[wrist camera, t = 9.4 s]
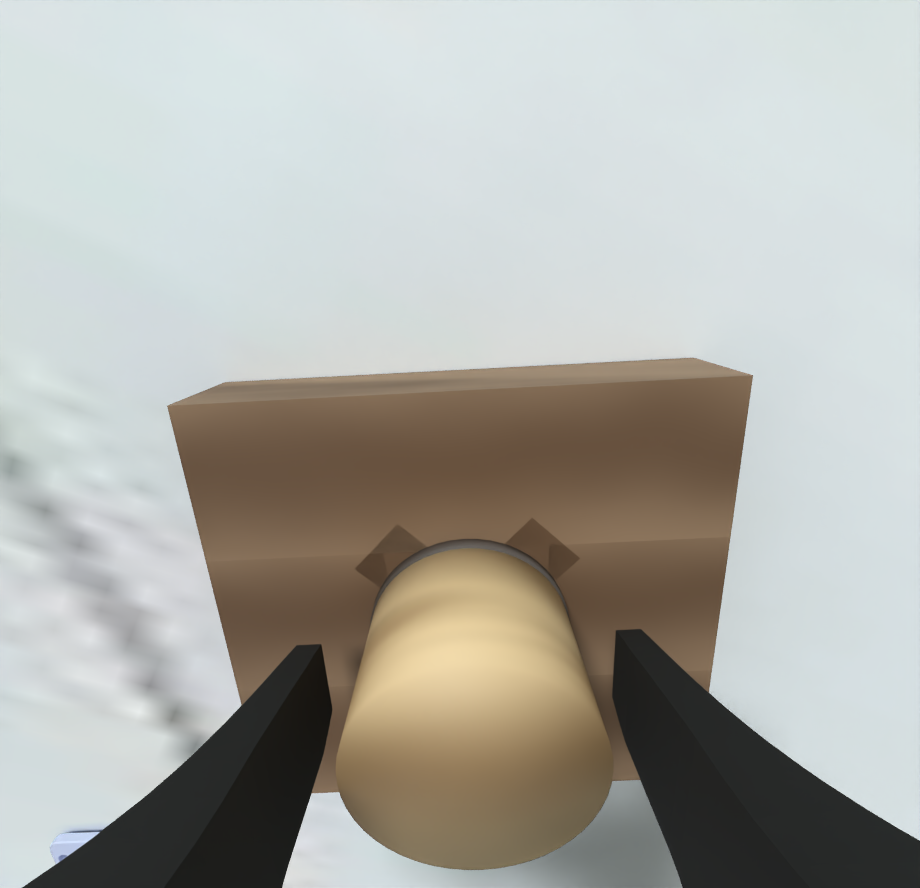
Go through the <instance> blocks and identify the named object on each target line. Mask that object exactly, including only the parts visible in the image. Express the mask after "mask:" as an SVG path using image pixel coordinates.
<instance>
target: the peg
mask: <svg viewBox="0 0 920 888" xmlns="http://www.w3.org/2000/svg"><path fill="white" fill-rule="evenodd" d="M613 770H614V769H613V754H612V750H611V745H610V741H609V738H608V735H607V732H606V729H605V726H604V723H603V720H602V717H601V714H600V711H599V708H598V705H597V702H596V699H595V696H594V693H593V690H592V687H591V684H590V681H589V678H588V675H587V672H586V669H585V666H584V663H583V660H582V657H581V654H580V651H579V648H578V645H577V642H576V639H575V636H574V633H573V630H572V627H571V624H570V619H569V614H568V610H567V606H566V603H565V600H564V598H563V595H562V593H561V590H560V588H559V586H558V585H557V583H556V581H555V580H554V578H553V577H552V576H551V574H550V573H549V572H548V571H547V569H545V568H544V567H543V566H542V565H541V564H540V563H539V562H538V561H537V560H535V559H534V558H532V557H531V556H529V555H528V554H526V553H524V552H522V551H521V550H519V549H517V548H514V547H512V546H509V545H506V544H503V543H499V542H495V541H491V540H483V539H458V540H450V541H446V542H441V543H437V544H435V545H432V546H429V547H426V548H424V549H422V550H420V551H418V552H416V553H414V554H413V555H411V556H410V557H408V558H407V559H405V560H404V561H402V562H401V563H400V564H399V565H398V566H397V567H396V568H395V569H394V570H393V571H392V572H391V573H390V574H389V576H388V577H387V578H386V580H385V581H384V583H383V584H382V586H381V588H380V590H379V592H378V594H377V597H376V599H375V603H374V607H373V611H372V615H371V619H370V630H369V634H368V637H367V641H366V645H365V649H364V653H363V657H362V660H361V664H360V668H359V672H358V676H357V680H356V683H355V687H354V691H353V695H352V699H351V703H350V706H349V710H348V714H347V718H346V722H345V726H344V730H343V733H342V737H341V741H340V745H339V749H338V753H337V757H336V779H337V785H338V789H339V792H340V796H341V798H342V800H343V802H344V804H345V807H346V809H347V810H348V812H349V813H350V814H351V816H352V817H353V819H354V820H355V821H356V822H357V824H358V825H359V826H360V827H361V828H362V829H363V830H364V831H365V832H366V833H367V834H369V835H370V836H371V837H372V838H373V839H374V840H376V841H377V842H379V843H380V844H382V845H383V846H385V847H386V848H388V849H390V850H392V851H394V852H396V853H398V854H400V855H402V856H404V857H407V858H410V859H412V860H415V861H418V862H421V863H425V864H429V865H432V866H438V867H444V868H450V869H462V870H484V869H495V868H502V867H508V866H513V865H517V864H521V863H524V862H528V861H531V860H534V859H536V858H539V857H541V856H544V855H546V854H548V853H550V852H552V851H554V850H556V849H558V848H560V847H561V846H563V845H564V844H566V843H568V842H569V841H571V840H572V839H573V838H575V837H576V836H577V835H578V834H579V833H581V832H582V831H583V830H584V829H585V828H586V827H587V826H588V825H589V824H590V823H591V822H592V821H593V819H594V818H595V817H596V815H597V814H598V812H599V811H600V810H601V808H602V806H603V804H604V802H605V800H606V798H607V796H608V793H609V790H610V787H611V784H612V777H613Z"/></svg>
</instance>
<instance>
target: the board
mask: <svg viewBox="0 0 920 888" xmlns="http://www.w3.org/2000/svg"><path fill="white" fill-rule="evenodd" d="M752 378H753V375H750V374H746V373H743V372H740V371H736V370H733V369H730V368H726V367H723V366H719V365H716V364H713V363H709V362H706V361H703V360H699V359H696V358H680V359H661V360H642V361H623V362H604V363H585V364H566V365H547V366H528V367H509V368H489V369H470V370H451V371H432V372H413V373H394V374H375V375H356V376H337V377H318V378H299V379H280V380H261V381H241V382H225V383H222V384H220V385H217V386H215V387H212V388H210V389H208V390H205V391H203V392H200V393H198V394H195V395H193V396H190V397H188V398H185V399H183V400H180V401H178V402H175V403H173V404H170V405H168V406H167V407H168V411H169V415H170V419H171V423H172V427H173V431H174V435H175V439H176V443H177V447H178V451H179V455H180V459H181V463H182V467H183V471H184V475H185V479H186V483H187V487H188V491H189V495H190V499H191V503H192V507H193V511H194V515H195V519H196V523H197V527H198V531H199V535H200V539H201V543H202V547H203V552H204V556H205V560H206V564H207V568H208V572H209V576H210V580H211V584H212V588H213V592H214V596H215V600H216V604H217V608H218V612H219V616H220V620H221V624H222V628H223V632H224V636H225V640H226V644H227V648H228V652H229V656H230V660H231V664H232V668H233V672H234V676H235V680H236V684H237V688H238V692H239V696H240V700H241V704H242V705H243V704H244V702H245V701H246V700H247V699H248V698H249V697H250V696H251V695H252V694H253V693H254V692H255V691H256V690H257V688H258V687H259V686H260V685H261V684H262V683H263V682H264V681H265V680H266V678H267V677H268V676H269V675H270V674H271V673H272V672H273V671H274V670H275V668H276V667H277V666H278V665H279V664H280V663H281V662H282V661H283V659H284V658H285V657H286V656H287V655H288V654H289V653H290V652H291V651H292V650H293V649H294V648H295V646H296V645H311V644H321V645H322V651H323V656H324V662H325V668H326V674H327V680H328V686H329V691H330V697H331V703H332V709H333V710H332V715H331V720H330V726H329V731H328V736H327V740H326V745H325V750H324V755H323V758H322V761H321V764H320V768H319V771H318V774H317V777H316V780H315V783H314V787H313V790H312V793H328V792H339V789H338V785H337V779H336V757H337V753H338V749H339V745H340V741H341V737H342V733H343V730H344V726H345V722H346V718H347V714H348V710H349V706H350V703H351V699H352V695H353V691H354V687H355V683H356V680H357V676H358V672H359V668H360V664H361V660H362V657H363V653H364V649H365V645H366V641H367V637H368V634H369V630H370V619H371V615H372V611H373V607H374V603H375V599H376V597H377V594H378V592H379V590H380V588H381V586H382V584H383V583H384V581H385V580H386V578H387V577H388V576H389V574H390V573H391V572H392V571H393V570H394V569H395V568H396V567H397V566H398V565H399V564H400V563H401V562H402V561H404V560H405V559H407V558H408V557H410V556H411V555H413V554H414V553H416V552H418V551H420V550H422V549H424V548H426V547H429V546H432V545H435V544H437V543H441V542H446V541H450V540H458V539H483V540H491V541H495V542H499V543H503V544H506V545H509V546H512V547H514V548H517V549H519V550H521V551H522V552H524V553H526V554H528V555H529V556H531V557H532V558H534V559H535V560H537V561H538V562H539V563H540V564H541V565H542V566H543V567H544V568H545V569H547V571H548V572H549V573H550V574H551V576H552V577H553V578H554V580H555V581H556V583H557V585H558V586H559V588H560V590H561V593H562V595H563V598H564V600H565V603H566V606H567V610H568V614H569V619H570V624H571V627H572V630H573V633H574V636H575V639H576V642H577V645H578V648H579V651H580V654H581V657H582V660H583V663H584V666H585V669H586V672H587V675H588V678H589V681H590V684H591V687H592V690H593V693H594V696H595V699H596V702H597V705H598V708H599V711H600V714H601V717H602V720H603V723H604V726H605V729H606V732H607V735H608V738H609V741H610V745H611V750H612V754H613V769H614V770H613V777H612V781H622V780H640V777H639V775H638V772H637V770H636V768H635V765H634V763H633V760H632V758H631V755H630V753H629V750H628V748H627V745H626V743H625V740H624V737H623V733H622V730H621V727H620V723H619V720H618V716H617V713H616V709H615V706H614V702H613V699H612V688H613V671H614V653H615V636H616V630H629V629H642V630H643V631H644V632H645V633H646V634H647V635H648V636H649V637H650V638H651V639H652V640H653V641H654V642H655V643H656V644H657V645H658V646H659V647H660V648H661V649H662V650H664V651H665V652H666V653H667V654H668V655H669V656H670V657H671V658H672V659H673V660H674V661H675V662H676V663H677V664H678V665H679V666H680V667H681V668H682V669H683V670H684V671H685V672H686V673H688V674H689V675H690V676H691V677H692V678H693V679H694V680H695V681H696V682H697V683H698V684H700V685H701V686H702V687H703V688H704V689H705V690H706V691H707V692H708V693H709V687H710V679H711V672H712V665H713V658H714V651H715V644H716V636H717V629H718V622H719V615H720V608H721V600H722V593H723V586H724V579H725V572H726V565H727V557H728V550H729V543H730V536H731V529H732V522H733V514H734V507H735V500H736V493H737V486H738V479H739V471H740V464H741V457H742V450H743V443H744V436H745V428H746V421H747V414H748V407H749V400H750V392H751V385H752Z"/></svg>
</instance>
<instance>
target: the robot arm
mask: <svg viewBox="0 0 920 888" xmlns="http://www.w3.org/2000/svg"><path fill="white" fill-rule="evenodd" d="M612 699H613V702H614V706H615V709H616V713H617V716H618V720H619V723H620V727H621V730H622V733H623V737H624V740H625V743H626V745H627V748H628V750H629V753H630V755H631V758H632V760H633V763H634V765H635V768H636V770H637V772H638V775H639V777H640V780H641V782H642V785H643V787H644V789H645V792H646V794H647V797H648V799H649V802H650V804H651V806H652V809H653V811H654V814H655V816H656V819H657V821H658V823H659V826H660V828H661V831H662V833H663V835H664V838H665V840H666V843H667V845H668V848H669V850H670V853H671V856H672V858H673V861H674V864H675V866H676V869H677V872H678V874H679V877H680V880H681V884H682V887H683V888H920V841H919V840H917V839H916V838H914V837H912V836H910V835H909V834H907V833H905V832H903V831H902V830H900V829H898V828H896V827H895V826H893V825H891V824H890V823H888V822H887V821H885V820H883V819H882V818H880V817H878V816H877V815H875V814H873V813H872V812H870V811H868V810H867V809H865V808H864V807H862V806H860V805H859V804H857V803H856V802H854V801H853V800H851V799H850V798H848V797H846V796H845V795H843V794H842V793H840V792H839V791H837V790H836V789H834V788H833V787H831V786H829V785H828V784H826V783H825V782H823V781H822V780H820V779H819V778H818V777H816V776H815V775H813V774H812V773H810V772H809V771H807V770H806V769H804V768H803V767H802V766H800V765H799V764H798V763H796V762H795V761H793V760H792V759H791V758H789V757H788V756H787V755H785V754H784V753H782V752H781V751H780V750H778V749H777V748H776V747H774V746H773V745H771V744H770V743H769V742H767V741H766V740H765V739H764V738H762V737H761V736H760V735H758V734H757V733H756V732H755V731H753V730H752V729H751V728H750V727H748V726H747V725H746V724H745V723H744V722H742V721H741V720H740V719H739V718H737V717H736V716H735V715H734V714H733V713H731V712H730V711H729V710H728V709H727V708H725V707H724V706H723V705H722V704H721V703H720V702H718V701H717V700H716V699H715V698H714V697H713V696H712V695H711V694H710V693H708V692H707V691H706V690H705V689H704V688H703V687H702V686H701V685H700V684H698V683H697V682H696V681H695V680H694V679H693V678H692V677H691V676H690V675H689V674H688V673H686V672H685V671H684V670H683V669H682V668H681V667H680V666H679V665H678V664H677V663H676V662H675V661H674V660H673V659H672V658H671V657H670V656H669V655H668V654H667V653H666V652H665V651H664V650H662V649H661V648H660V647H659V646H658V645H657V644H656V643H655V642H654V641H653V640H652V639H651V638H650V637H649V636H648V635H647V634H646V633H645V632H644V631H643V630H642V629H629V630H616V636H615V653H614V671H613V688H612ZM332 710H333V709H332V703H331V697H330V691H329V686H328V680H327V674H326V668H325V662H324V656H323V651H322V645H321V644H311V645H296V646H295V648H294V649H293V650H292V651H291V652H290V653H289V654H288V655H287V656H286V657H285V658H284V659H283V661H282V662H281V663H280V664H279V665H278V666H277V667H276V668H275V670H274V671H273V672H272V673H271V674H270V675H269V676H268V677H267V678H266V680H265V681H264V682H263V683H262V684H261V685H260V686H259V687H258V688H257V690H256V691H255V692H254V693H253V694H252V695H251V696H250V697H249V698H248V699H247V700H246V701H245V702H244V704H243V705H242V706H241V707H240V708H239V709H238V710H237V711H236V712H235V713H234V714H233V715H232V716H231V717H230V718H229V719H228V721H227V722H226V723H225V724H224V725H223V726H222V727H221V728H220V729H219V730H218V731H217V732H215V733H214V734H213V735H212V736H211V737H210V738H209V739H208V740H207V741H206V742H205V743H204V744H203V745H202V746H201V747H200V748H199V749H198V750H197V751H196V752H195V753H194V754H193V755H192V756H191V757H190V758H189V759H188V760H187V761H186V762H185V763H183V764H182V765H181V766H180V767H179V768H178V769H177V770H176V771H175V772H173V773H172V774H171V775H170V776H169V777H168V778H166V779H165V780H164V781H163V782H162V783H161V784H159V785H158V786H157V787H156V788H155V789H154V790H153V791H151V792H150V793H149V794H148V795H147V796H145V797H144V798H143V799H142V800H141V801H139V802H138V803H137V804H135V805H134V806H133V807H132V808H130V809H129V810H128V811H126V812H125V813H124V814H123V815H121V816H120V817H119V818H118V819H116V820H115V821H114V822H112V823H111V824H110V825H109V826H107V827H106V828H105V829H103V830H102V831H101V832H81V833H63V834H60V835H58V836H57V837H56V838H55V839H54V841H53V842H52V844H51V845H50V852H51V854H52V856H53V858H54V860H55V862H56V865H55V866H53V867H52V868H50V869H49V870H47V871H46V872H44V873H43V874H41V875H40V876H39V877H37V878H36V879H34V880H33V881H31V882H30V883H28V884H27V885H25V886H24V887H22V888H282V885H283V882H284V878H285V875H286V871H287V868H288V864H289V861H290V858H291V855H292V852H293V849H294V846H295V843H296V839H297V836H298V833H299V830H300V827H301V824H302V821H303V818H304V815H305V811H306V808H307V805H308V802H309V799H310V796H311V793H312V790H313V787H314V783H315V780H316V777H317V774H318V771H319V768H320V764H321V761H322V758H323V755H324V750H325V745H326V740H327V736H328V731H329V726H330V720H331V715H332Z"/></svg>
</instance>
